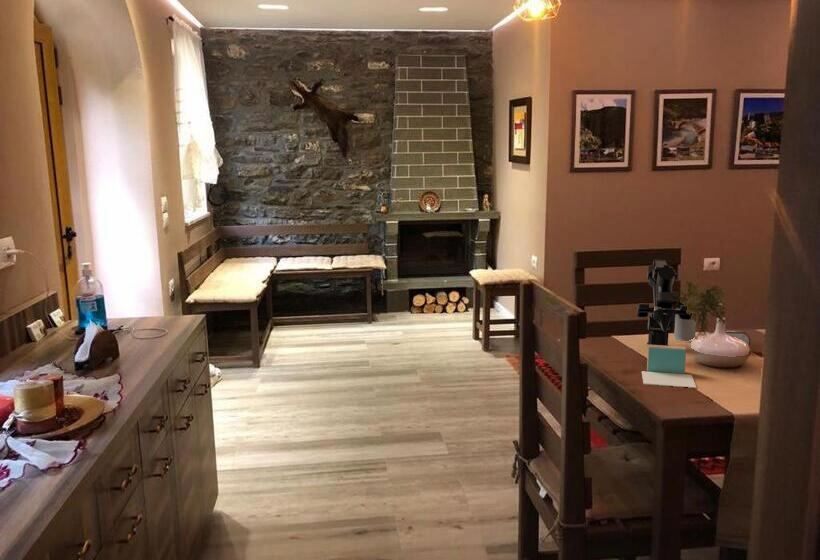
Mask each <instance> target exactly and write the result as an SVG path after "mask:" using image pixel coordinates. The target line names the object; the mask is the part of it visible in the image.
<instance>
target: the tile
mask: <svg viewBox="0 0 820 560" xmlns="http://www.w3.org/2000/svg"><path fill="white" fill-rule="evenodd" d="M686 355H687V348H686V346H680V345H679V346H677V345H669V346H664V345H648V344H647V359H646V361H647V363H646V372H660V373H674V374H686V371H685V370H686V359H687V356H686Z"/></svg>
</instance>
